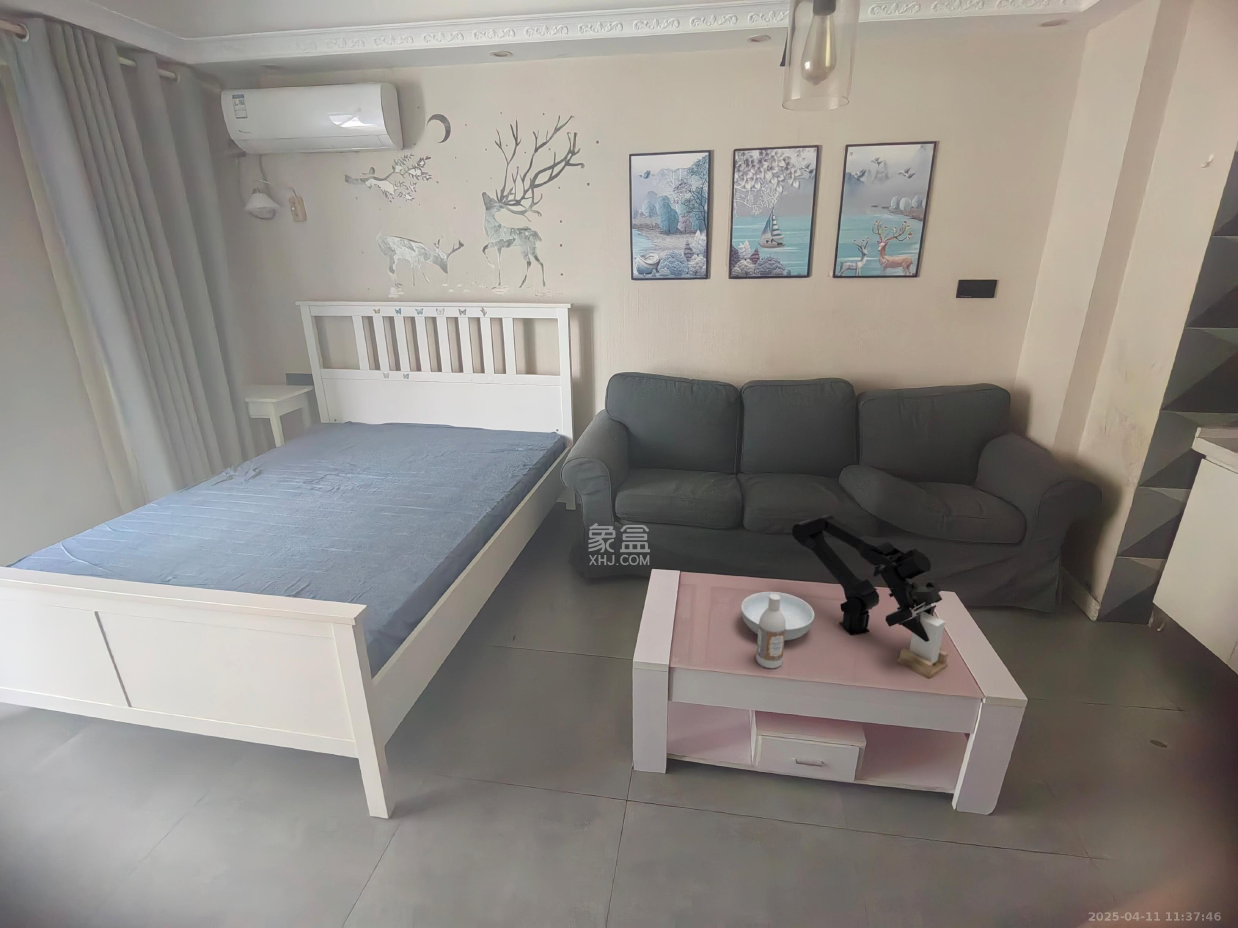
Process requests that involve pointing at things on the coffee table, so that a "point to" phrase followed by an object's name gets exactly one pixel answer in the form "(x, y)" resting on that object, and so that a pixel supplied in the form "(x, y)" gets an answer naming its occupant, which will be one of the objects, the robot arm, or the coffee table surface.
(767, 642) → the bath foam
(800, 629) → the serving bowl
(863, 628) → the robot arm
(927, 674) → the slot holder
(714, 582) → the coffee table surface
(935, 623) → the white rectangular box
